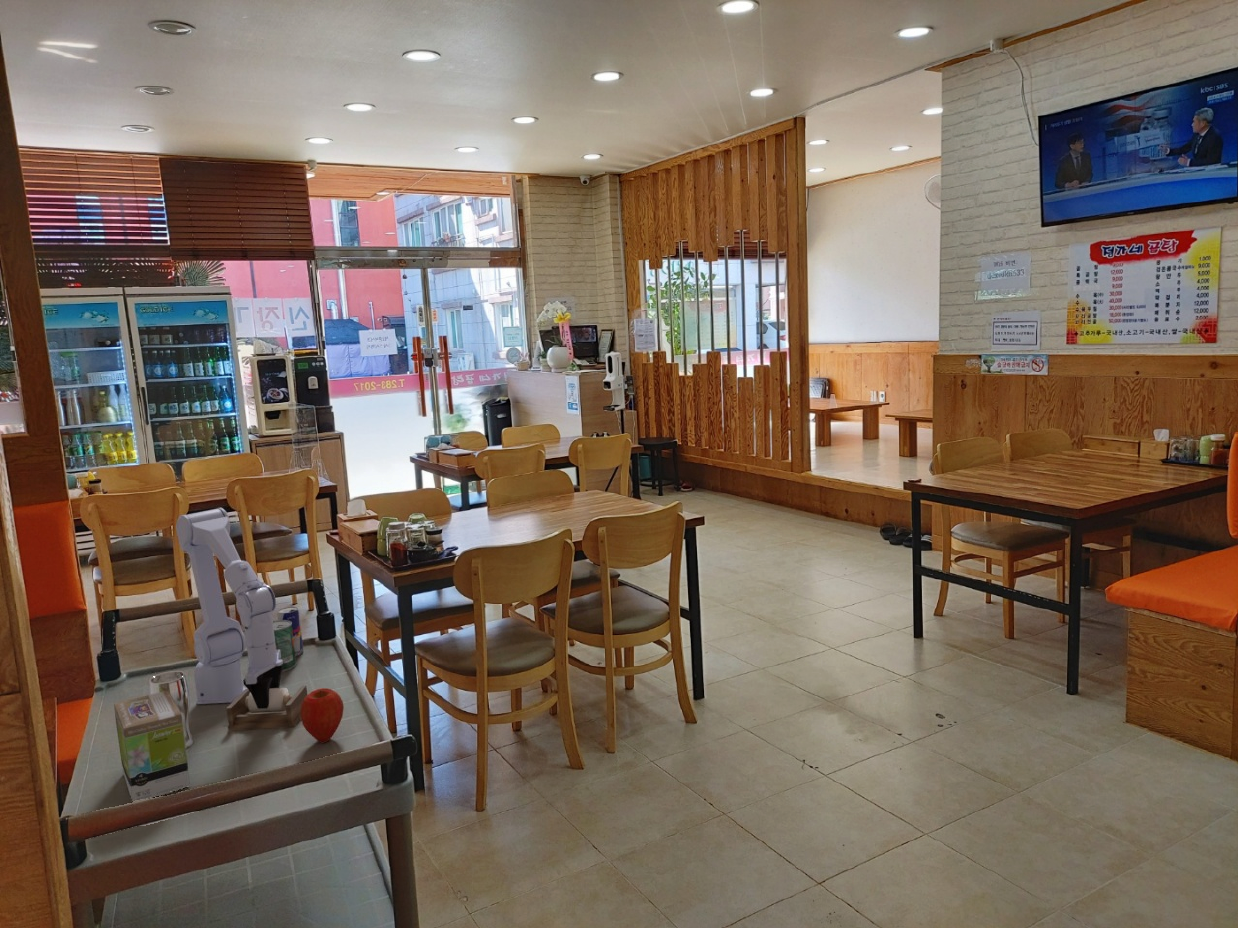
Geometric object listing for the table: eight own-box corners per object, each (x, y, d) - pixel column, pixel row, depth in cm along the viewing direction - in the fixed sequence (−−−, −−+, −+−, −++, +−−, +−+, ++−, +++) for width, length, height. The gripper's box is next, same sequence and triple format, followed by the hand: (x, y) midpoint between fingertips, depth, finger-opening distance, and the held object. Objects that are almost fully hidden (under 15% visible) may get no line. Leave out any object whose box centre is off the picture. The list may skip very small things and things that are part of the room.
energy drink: (299, 656, 228) (293, 612, 226) (278, 657, 228) (273, 613, 226) (306, 649, 233) (301, 605, 231) (286, 650, 233) (281, 606, 231)
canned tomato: (256, 672, 219) (251, 630, 217) (275, 660, 226) (270, 619, 225) (284, 673, 217) (279, 631, 215) (302, 661, 224) (298, 620, 223)
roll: (244, 717, 190) (240, 696, 188) (253, 705, 194) (249, 685, 193) (287, 715, 190) (284, 694, 188) (295, 703, 194) (292, 683, 193)
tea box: (192, 787, 164) (182, 712, 162) (132, 806, 158) (120, 729, 156) (178, 757, 176) (169, 687, 174) (122, 773, 171) (111, 702, 168)
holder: (228, 730, 187) (225, 708, 186) (247, 709, 197) (244, 688, 196) (293, 726, 187) (291, 704, 186) (309, 706, 197) (307, 685, 196)
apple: (350, 743, 178) (345, 692, 177) (307, 754, 174) (301, 703, 173) (342, 727, 186) (337, 678, 184) (300, 737, 182) (294, 688, 180)
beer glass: (203, 739, 183) (193, 671, 181) (176, 755, 177) (166, 685, 174) (177, 736, 186) (167, 668, 183) (150, 751, 179) (139, 682, 177)
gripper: (266, 654, 182) (273, 715, 184) (291, 630, 196) (298, 687, 199) (232, 656, 182) (240, 717, 184) (259, 631, 196) (266, 689, 199)
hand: (268, 702), depth 191 cm, fingers closed on roll, 5 cm apart
